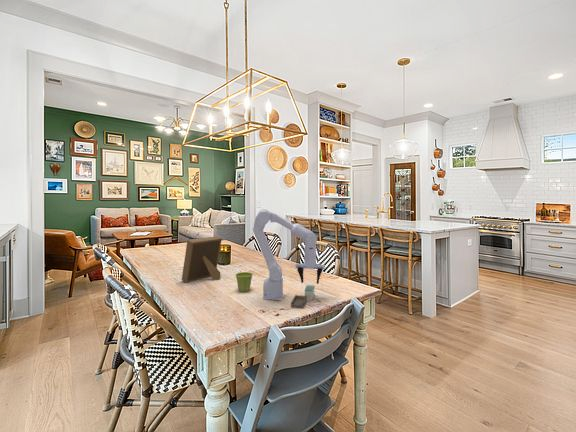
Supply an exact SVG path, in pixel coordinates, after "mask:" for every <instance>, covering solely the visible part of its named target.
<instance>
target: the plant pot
mask: <svg viewBox="0 0 576 432" xmlns="http://www.w3.org/2000/svg"><path fill="white" fill-rule="evenodd" d="M234 276H235V278H236V282H237V283H236V284H237V290H238V292H240V293H242V292H244V293H246V292H250V290H251V283H252V279H253V276H254V273H253V272H249V271H241V272H237V273H235V275H234Z"/></svg>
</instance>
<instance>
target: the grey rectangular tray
mask: <svg viewBox="0 0 576 432" xmlns="http://www.w3.org/2000/svg"><path fill="white" fill-rule="evenodd" d="M307 301H308V300H307V296H305V295H304V294H303V295H301V294H295V295H294V297H293V299H292V300H291V302H290V308H292V309H304V308H305V306H306V303H307Z"/></svg>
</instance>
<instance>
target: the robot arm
mask: <svg viewBox="0 0 576 432" xmlns="http://www.w3.org/2000/svg"><path fill="white" fill-rule="evenodd" d="M269 222H270V223H277V224H279V225H280V226H282V227H285V229H286V228H287V229H288V230H290V233H291V234H292V235H293V236H295V237H297V238H299V239H300V240H304V254H303V255H304V257H303V258H304V259H303V261H304V262H302V263H295V269H297V273H298V275H299V278H300V281H301V283H302V284H303V283H304V271H305V270H304V269H311V270H316V284H317V285H318V284H319V281H320V277H321V274H323V273H322V272H323V271H324V270H325V269H326V265H325V264H319V263H317V246H316V245H317V241H318V237H317V234H315V233H314V232H313V231H311V229H309V228H306V227H304V226H303V224H301V223H292V222H290V221H289V220H287V219H286V218H284V217H283V216H280V215H279V214H277V213H275V212H273V211H269V210H268V209H261V210H259V211H258V213H257V214H256V216H255V218H254V222H253V223H254V224H253V228H252V231H253V234H254V237H255V239H256V241H257V244H258V246H259V249H260V251H261V253H262V255H263V256H262V257H263V258H264V261H265V263H266V265H267V269H268V272H269V273H268V275H269V276H268V278H266V279H264V281H263V283H262V284H263V285H262V286H263V288H262V299H264V300H273V301H282V300H283V299H284V297H285V296H286V295H285V294H284V290H283V289H284V279H283V272H282V271H283V270H282V266H281V265H279V264H278V261H277V260H276V258H275V256H274V254H273V251H272V248H271V246H270V243H269V241H268V239H267V237H266V233H265V231H264V229H265V227H266V225H267V224H268V223H269Z"/></svg>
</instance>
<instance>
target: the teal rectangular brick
mask: <svg viewBox="0 0 576 432" xmlns="http://www.w3.org/2000/svg"><path fill="white" fill-rule="evenodd" d="M315 287H316V286H315V285H312V284H306V286H305V288H304V296H307V301H314V298H315V292H316V289H315Z"/></svg>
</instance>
